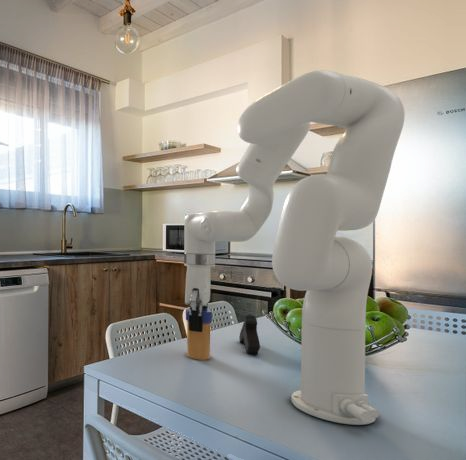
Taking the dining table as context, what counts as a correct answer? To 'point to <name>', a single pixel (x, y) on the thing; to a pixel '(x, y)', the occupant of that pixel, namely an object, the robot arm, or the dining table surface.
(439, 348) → the dining table surface
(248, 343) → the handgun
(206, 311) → the jar lid
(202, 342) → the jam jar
